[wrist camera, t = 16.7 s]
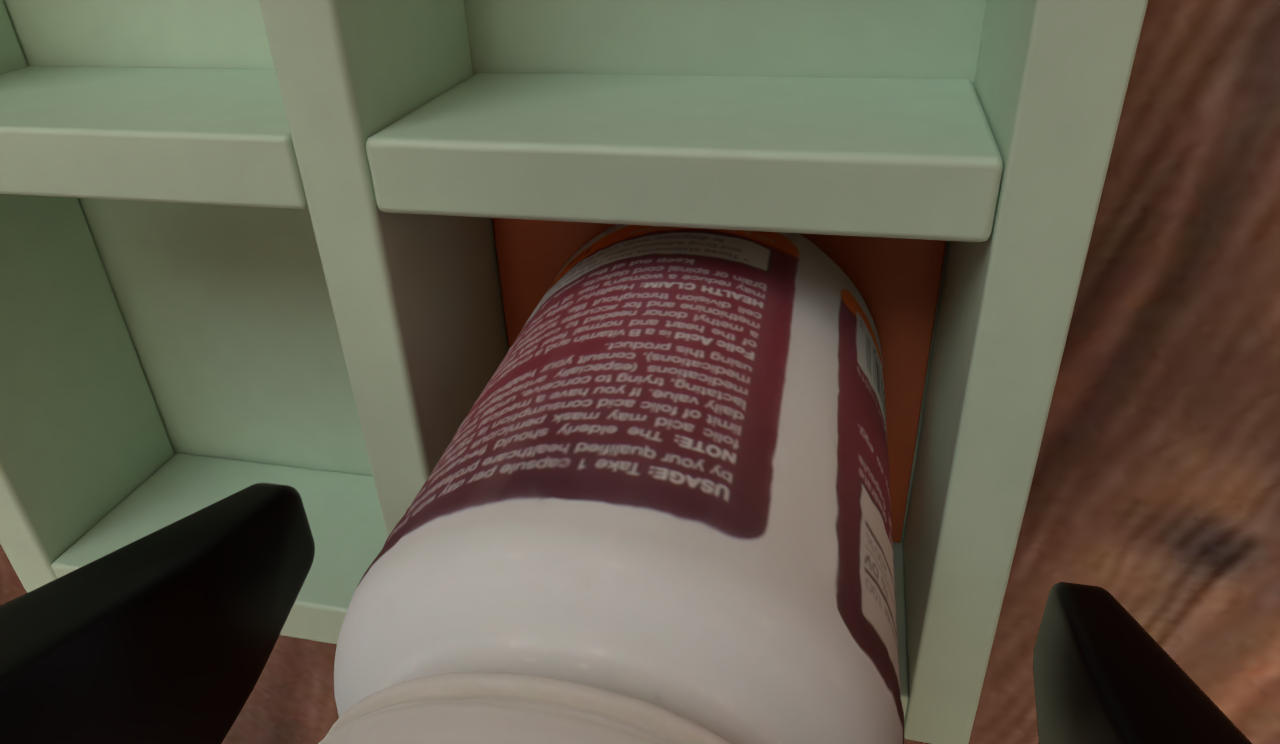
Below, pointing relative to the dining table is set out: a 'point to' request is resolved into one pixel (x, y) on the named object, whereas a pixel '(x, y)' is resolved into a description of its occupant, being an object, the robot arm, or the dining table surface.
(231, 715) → the robot arm
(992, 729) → the dining table surface
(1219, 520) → the dining table surface
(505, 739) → the pill bottle
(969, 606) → the divided tray
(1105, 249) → the dining table surface
